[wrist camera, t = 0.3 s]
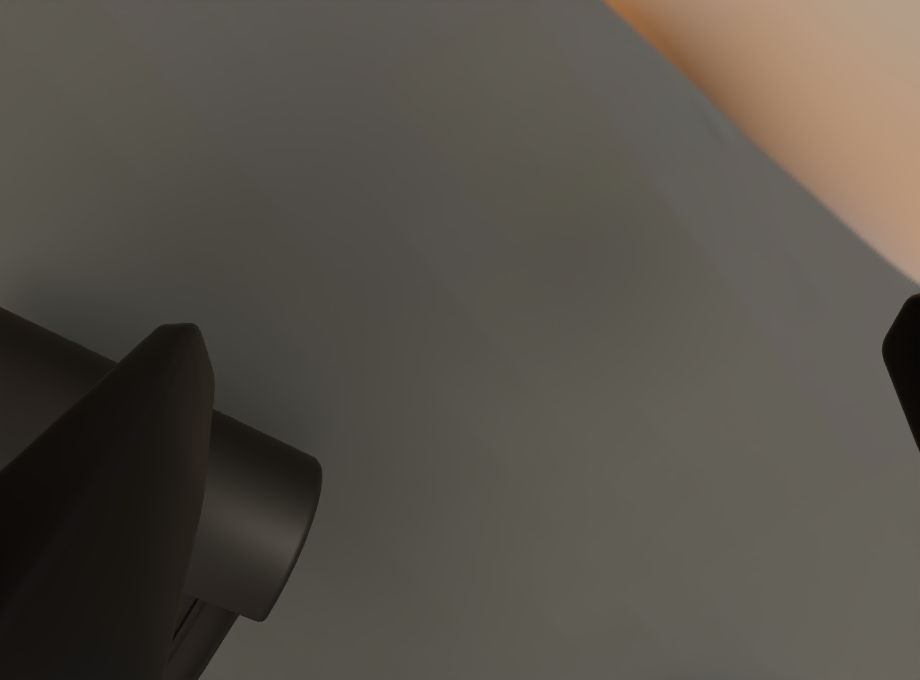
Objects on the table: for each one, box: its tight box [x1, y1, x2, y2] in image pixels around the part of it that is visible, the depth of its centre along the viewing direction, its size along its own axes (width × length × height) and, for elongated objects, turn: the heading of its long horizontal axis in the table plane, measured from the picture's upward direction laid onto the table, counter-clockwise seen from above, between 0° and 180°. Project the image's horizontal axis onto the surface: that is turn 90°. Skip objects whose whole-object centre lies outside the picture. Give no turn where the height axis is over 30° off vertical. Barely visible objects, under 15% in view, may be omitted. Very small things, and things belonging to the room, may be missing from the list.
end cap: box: [0, 307, 322, 680], centre depth 20 cm, size 10×7×7 cm
